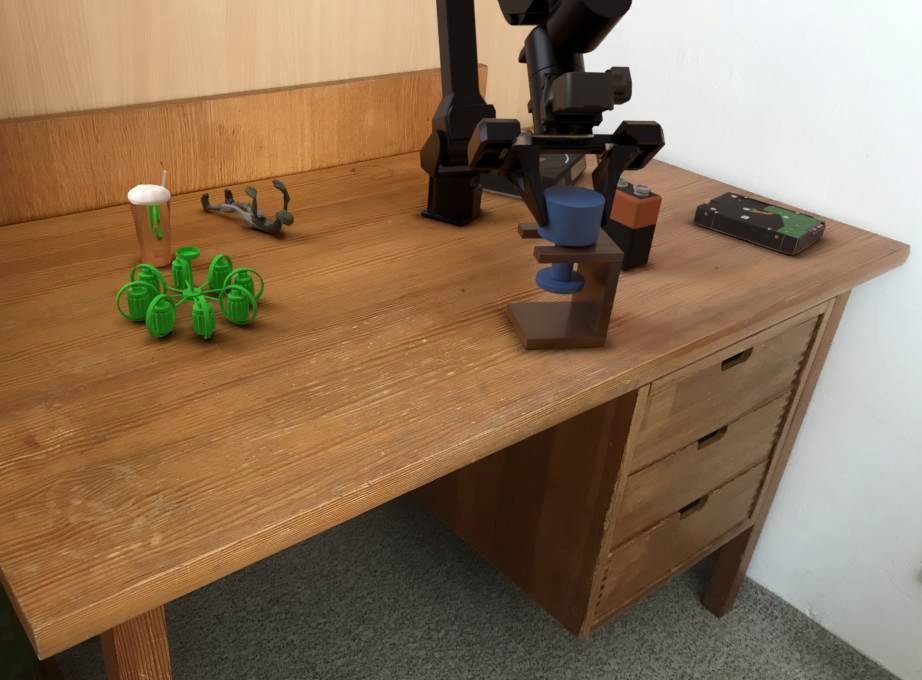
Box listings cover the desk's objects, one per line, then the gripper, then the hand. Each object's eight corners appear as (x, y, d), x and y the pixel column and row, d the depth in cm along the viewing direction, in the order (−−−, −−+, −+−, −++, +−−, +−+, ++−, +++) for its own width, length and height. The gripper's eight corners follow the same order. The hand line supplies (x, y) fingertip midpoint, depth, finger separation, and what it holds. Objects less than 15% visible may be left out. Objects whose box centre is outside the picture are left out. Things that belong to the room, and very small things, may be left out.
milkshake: (190, 256, 98) (181, 174, 92) (160, 273, 94) (149, 188, 88) (159, 248, 99) (149, 167, 94) (128, 264, 95) (116, 180, 90)
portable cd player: (554, 206, 119) (558, 179, 117) (447, 183, 125) (449, 157, 123) (585, 175, 132) (589, 150, 130) (486, 155, 138) (488, 131, 136)
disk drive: (691, 225, 116) (794, 257, 108) (695, 206, 115) (800, 237, 107) (723, 208, 123) (822, 237, 115) (727, 190, 122) (829, 218, 113)
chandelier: (110, 291, 89) (100, 231, 85) (246, 273, 95) (243, 216, 91) (130, 359, 78) (120, 293, 74) (284, 334, 84) (282, 272, 80)
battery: (624, 272, 101) (641, 194, 96) (585, 252, 106) (599, 176, 100) (648, 265, 103) (666, 188, 98) (609, 246, 108) (624, 171, 103)
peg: (521, 286, 84) (533, 197, 79) (544, 266, 88) (557, 180, 83) (575, 302, 82) (592, 212, 76) (596, 281, 86) (613, 194, 81)
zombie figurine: (229, 155, 109) (304, 187, 101) (231, 204, 113) (303, 239, 105) (195, 162, 106) (269, 196, 98) (198, 212, 109) (270, 249, 101)
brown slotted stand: (525, 349, 84) (540, 254, 78) (506, 312, 90) (517, 222, 85) (604, 346, 85) (624, 253, 80) (579, 310, 92) (596, 221, 86)
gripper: (486, 27, 74) (503, 189, 71) (680, 34, 77) (703, 189, 74) (460, 95, 85) (474, 238, 81) (631, 98, 88) (650, 236, 85)
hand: (574, 225), depth 80 cm, fingers closed on peg, 6 cm apart
